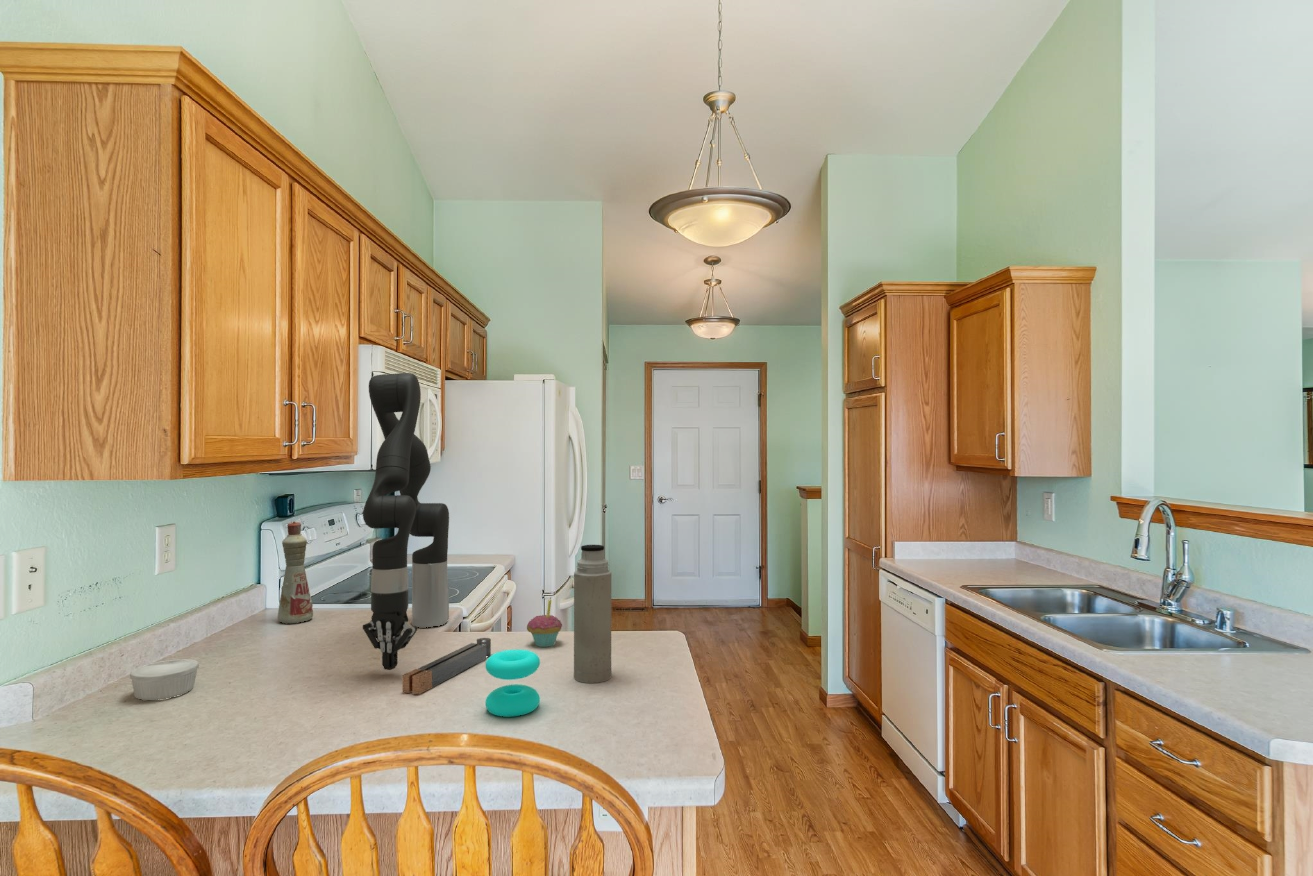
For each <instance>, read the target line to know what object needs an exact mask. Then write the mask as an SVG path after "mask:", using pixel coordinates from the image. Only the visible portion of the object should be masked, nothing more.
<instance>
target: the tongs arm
mask: <svg viewBox="0 0 1313 876" xmlns="http://www.w3.org/2000/svg"><path fill="white" fill-rule="evenodd" d="M475 646H477V642H474V643H473V642H471V643H469V644H467V645H465V646H461V647H460V648H458V649H455V650H453V651H452V652H450V653H447V654H446V655H443V656H441V657H439V658H437V659H436V660H433V661H430V662H429V663H427V664H425V665H423V666H421V667H418V668H415V669H412V670H410V671H409V672H408V671H407V672H406V673H404V674H402V693H405V694H410V693H412V676H414V675H416V674H418V673H420V672H422V671H424V670H428V669H430V668H432V667H434V666H437V665H439V664H441V663H443V662H445V661H447V660H449V659H451V658H453V657H455V656H457V655H459V654H461V653H463V652H465V651H467V650H469V649H471V648H473V647H475Z"/></svg>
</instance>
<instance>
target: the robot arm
mask: <svg viewBox="0 0 1313 876" xmlns="http://www.w3.org/2000/svg"><path fill="white" fill-rule="evenodd" d="M368 394H369V399H370V402H371V406H372V408H373V411H374V414H375V416H376V418H377V421H378V424H379V427H380V429H381V432H382V434H383V438H384V440H383V441H382V443H381V445H380V447H379V448H378V452H377V455H376V461H375V462H376V463H375V464H376V465H375V475H374V476H375V477H374V479H373V480H374V481H373V485H372V486H371V487H372V488H371V489H370V492H369V494H368V496H367V499H366V501H365V504H364V506H363V511H362V517H363V518H362V519H363V522H364V524H366V526H367V527H369V528H370V529H377V530H378V529H397V533H396V534H395V535H393V536H391V537H387V538H383V539H379V540H377V541H375V542H374V543H373V544H372V551H371V552H372V554H371V555H372V556H371V557H372V558H371V559H372V561H371V562H372V563H371V564H372V565H371V567H372V571H371V578H370V610H371V612H372V615H371V620H369V622H367V623H364V624H363V625H362V630H363V631H364V633H365V635H366V636H367V638H368V640H369V641H370V643H371V645H372V646H373V648H374V649H379V650H380V652H381V655H382V656H381V659H382V660H381V665H382V667H383V670H386V671H392V670H394V669H396V667H397V666H398V663H399V661H398V651H400V650H403V649H405V648H406V647H407V645H408V644H409V642H410V641H411V640H412V638H413V637H414V636H415V634H416V633H417V631H418V627H419V629H420V628H421V629H427V628H428V627H431V628H434V627H433V626H438V627H441V626H440V625H442V626H444V625H446V624H447V623H448V621H447V620H448V619H449V620H450V587H449V586H448V550H449V531H450V530H449V528H450V527H449V526H450V512H449V511H450V510H449V508H448V506H447V504H445V503H442V502H441V503H440V502H439V503H438V502H432V503H431V502H429V503H427V502H426V503H425V502H423V503H422V502H420V501H419V499H418V496H419V493H420V492H421V490H422V488H423V487H424V485H425V483H426V481H427V480H428V478H429V476H430V473H431V468H432V466H431V461H430V457H429V454H428V449H427V447H426V445H425V443H424V442H423V440H421V439H420V438H419V437H418V435H415V433H416V426H417V422H418V417H419V413H420V406H421V401H422V400H421V398H422V396H421V395H422V394H421V385H420V382H419V378H418V377H417V376H416V374H415V373H411V372H400V373H384V374H376V375H373V376H372V377H371V378H370V380H369V382H368ZM395 413H401V415H400V418H399V419H398V417H397V415H396V414H395ZM395 492H399V494H398V495H396V494H395V495H389V494H392V493H395ZM410 535H411V536H412V537H417V538H418V537H419V538H420V537H421V538H427V537H428V538H429V537H431V538H433V539H432V542H431V544H429V545H427V546H426V547H422V548H420V549H419V548H418V549H417V550H414V551H413V552H412V554H411V572H412V573H411V575H412V576H411V585H412V586H411V623H410V622H409V617H408V613H407V612H408V608H409V572H408V544H409V537H410ZM446 622H447V623H446ZM445 623H446V624H445ZM443 624H444V625H443ZM426 627H427V628H426Z"/></svg>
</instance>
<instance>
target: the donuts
mask: <svg viewBox="0 0 1313 876" xmlns="http://www.w3.org/2000/svg"><path fill="white" fill-rule="evenodd" d="M540 664H541V660H540V656H539V655H538V654H537V653H536V652H534V651H531V650H528V649H506V650H501V651H498V652H495V653H493V654H491V656H490V657H487V658H486V661H485V669H486V672H487V673H488V674H489V675H490V676H491V677H493V678H496V679H500V680H504V681H505V680H509V681H511V680H512V681H513V680H519V679H523V678H527V677H529V676H531V675H533V674H535V673H536V671H538V669H539V667H540ZM540 697H541V696H540V694H539V692H538V691H537V689H535V688H534V687H531V686H528V685H525V684H518V683H517V684H507V685H503V686H500V687H497V688H495V689H494V690H492V691H491V692H489V694H488V695H487V696H486V699H485V708H486V710H487V711H488V712H489V713H490V714H492V715H495V716H498V717H502V716H503V717H505V718H510V717H511V718H512V717H513V718H515V717H521V716H525V715H527V714H530V713H531V712H533V711H535V710H536V709H537V707H539V704H540V701H541V700H540V699H541V698H540ZM520 715H521V716H520Z"/></svg>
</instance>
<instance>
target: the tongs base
mask: <svg viewBox="0 0 1313 876" xmlns="http://www.w3.org/2000/svg"><path fill="white" fill-rule="evenodd" d="M491 641H492V639H491V638H489V637H481V638H477V639H476V644H477V646H475V647H473V648H471V649H469V650H467V651H465V652H463V653H461V654H459V655H457V656H455V657H453V658H451V659H449V660H447V661H445V662H443V663H441V664H439V665H437V666H434V667H432V668H430V669H428V670H424V671H422V672H420V673H418V674H416V675H414V676H412V692H411V694H413V695H414V694H415V695H421V694H423V693H424V692H426V691H428V690H430V689H432V688H434V687H436V686H438V685H440V684H441V683H444V682H445V681H447V680H449V679H451V678H452V677H455V676H456V674H457V675H458V674H460V673H462V672H464V671H465V670H467V669H470V668H472V667H474V666H476V665H477V664H479V663H481V662H483V661H485V660H487V658H486V656H490V655H492V654H491V653H492V647H491V646H492V644H491V643H492V642H491ZM480 661H481V662H480ZM476 663H477V664H476ZM469 667H470V668H469Z"/></svg>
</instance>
